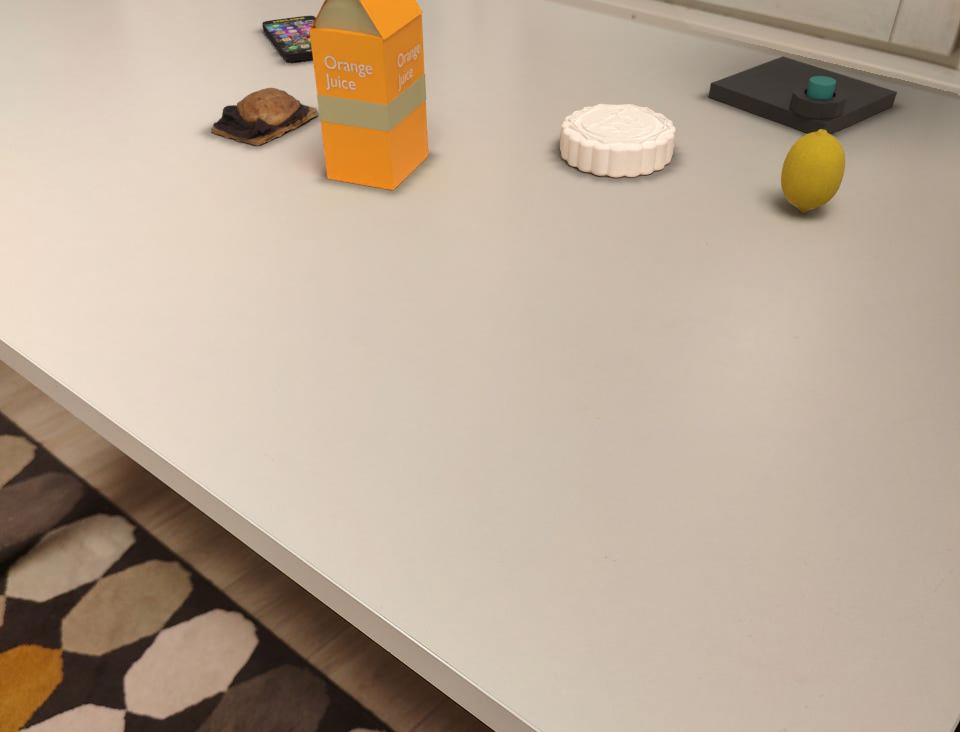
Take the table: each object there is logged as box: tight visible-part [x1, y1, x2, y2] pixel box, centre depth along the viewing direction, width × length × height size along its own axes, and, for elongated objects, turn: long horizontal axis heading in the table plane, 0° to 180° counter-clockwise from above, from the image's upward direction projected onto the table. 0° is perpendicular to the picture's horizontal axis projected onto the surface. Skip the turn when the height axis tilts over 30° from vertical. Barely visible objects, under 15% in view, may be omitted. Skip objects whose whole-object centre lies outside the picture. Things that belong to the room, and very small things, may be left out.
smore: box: [210, 87, 319, 147], centre depth 107 cm, size 11×8×4 cm
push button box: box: [708, 55, 898, 135], centre depth 110 cm, size 16×14×4 cm
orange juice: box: [309, 0, 429, 191], centre depth 92 cm, size 8×9×20 cm
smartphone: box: [261, 15, 317, 62], centre depth 128 cm, size 8×1×15 cm
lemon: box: [780, 129, 846, 214], centre depth 88 cm, size 6×6×8 cm
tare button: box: [806, 76, 836, 99], centre depth 104 cm, size 3×3×2 cm
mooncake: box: [559, 103, 677, 178], centre depth 100 cm, size 12×12×4 cm
